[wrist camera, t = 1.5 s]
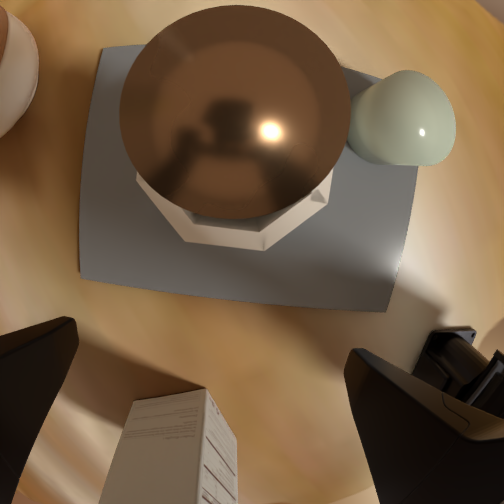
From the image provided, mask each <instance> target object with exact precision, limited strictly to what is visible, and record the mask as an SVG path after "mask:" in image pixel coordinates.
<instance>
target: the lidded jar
mask: <svg viewBox="0 0 504 504" xmlns="http://www.w3.org/2000/svg"><path fill="white" fill-rule="evenodd" d="M38 70H39V55H38V48H37V45H36V42H35V39H34V37H33V35H32V33H31V32H30V30H29V29H28V28H27V27H26V25H24V24H23V23H22V22H21V21H20V20H19V19H18V18H17V17H15V16H14V15H12V14H11V13H9V12H7V11H5V9H4V8H3V7H1V6H0V138H1V137H2V136H3V135H5V134H6V133H7V132H8V131H9V130H10V129H11V128H12V127H13V126H14V124H15V123H16V122H17V121H18V120H19V119H20V118H21V117H22V115H23V114H24V113H25V112H26V110H27V108H28V107H29V105H30V103H31V101H32V99H33V97H34V95H35V92H36V89H37V84H38V78H39V71H38Z"/></svg>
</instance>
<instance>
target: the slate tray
mask: <svg viewBox="0 0 504 504" xmlns="http://www.w3.org/2000/svg"><path fill="white" fill-rule="evenodd" d="M145 46H146V45H130V46H119V47H109V48H103V52H102V56H101V59H100V63H99V67H98V71H97V76H96V80H95V85H94V89H93V94H92V99H91V105H90V110H89V116H88V122H87V129H86V136H85V144H84V152H83V162H82V173H81V188H80V211H79V250H80V274H81V278H82V279H87V280H93V281H99V282H104V283H110V284H116V285H123V286H129V287H135V288H142V289H148V290H155V291H162V292H169V293H177V294H184V295H192V296H200V297H208V298H216V299H225V300H233V301H243V302H252V303H262V304H272V305H283V306H295V307H307V308H320V309H334V310H350V311H368V312H386V310H387V307H388V304H389V301H390V297H391V294H392V290H393V287H394V283H395V280H396V276H397V272H398V269H399V265H400V261H401V257H402V252H403V248H404V244H405V239H406V235H407V230H408V225H409V220H410V215H411V210H412V204H413V199H414V192H415V186H416V179H417V172H418V166H412V165H376V164H372V163H369V162H367V161H365V160H364V159H362V158H361V157H359V156H358V155H357V154H356V153H355V152H354V151H353V149H352V148H351V147H350V145H349V143H348V141H347V140H346V143H345V146H344V149H343V151H342V153H341V155H340V157H339V159H338V161H337V163H336V164H335V166H334V167H333V174H332V180H331V187H330V193H329V199H328V204H327V205H326V206H324V207H323V208H322V209H320V210H319V211H318V212H316V213H315V214H313V215H312V216H311V217H309V218H308V219H307V220H305V221H304V222H303V223H301V224H300V225H299V226H297V227H296V228H295V229H293V230H292V231H291V232H289V233H288V234H287V235H285V236H284V237H283V238H281V239H280V240H279V241H277V242H276V243H275V244H273V245H272V246H271V247H269V248H268V249H267V250H265V251H260V250H251V249H243V248H235V247H226V246H218V245H209V244H201V243H192V242H185V241H184V240H183V239H182V237H181V236H180V235H179V234H178V233H177V231H176V230H175V229H174V228H173V226H172V225H171V224H170V223H169V221H168V220H167V219H166V218H165V217H164V215H163V214H162V213H161V212H160V210H159V209H158V208H157V207H156V205H155V204H154V203H153V201H152V200H151V199H150V198H149V196H148V195H147V194H146V193H145V191H144V190H143V189H142V188H141V186H140V185H139V184H138V182H137V181H136V177H137V170H136V169H135V167H134V166H133V164H132V162H131V160H130V158H129V156H128V154H127V152H126V149H125V146H124V143H123V140H122V136H121V130H120V124H119V107H120V98H121V93H122V89H123V86H124V82H125V79H126V77H127V75H128V72H129V70H130V68H131V66H132V64H133V63H134V61H135V59H136V58H137V56H138V55H139V54H140V52H141V51H142V50H143V48H144V47H145ZM341 68H342V71H343V73H344V76H345V78H346V81H347V85H348V89H349V93H350V100H351V99H352V98H353V97H354V96H355V95H357V94H358V93H360V92H362V91H364V90H365V89H367V88H369V87H371V86H372V85H374V84H376V83H378V82H379V81H381V80H382V79H380V78H377V77H374V76H371V75H368V74H364V73H361V72H358V71H355V70H351V69H348V68H344V67H341Z"/></svg>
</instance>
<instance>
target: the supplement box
mask: <svg viewBox="0 0 504 504" xmlns="http://www.w3.org/2000/svg"><path fill="white" fill-rule="evenodd" d="M99 504H238V488H237V440H236V437H235V436H234V434H233V432H232V431H231V429H230V428H229V426H228V424H227V423H226V421H225V419H224V417H223V416H222V414H221V412H220V411H219V409H218V407H217V406H216V404H215V402H214V400H213V399H212V397H211V395H210V393H209V392H208V390H207V389H206V388H205V389H200V390H195V391H191V392H186V393H180V394H175V395H169V396H163V397H157V398H151V399H144V400H136V401H133V404H132V407H131V410H130V412H129V415H128V418H127V420H126V423H125V426H124V429H123V431H122V434H121V437H120V440H119V443H118V445H117V448H116V451H115V454H114V457H113V460H112V463H111V466H110V469H109V472H108V475H107V478H106V481H105V485H104V488H103V491H102V494H101V497H100V500H99Z"/></svg>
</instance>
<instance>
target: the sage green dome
mask: <svg viewBox="0 0 504 504" xmlns="http://www.w3.org/2000/svg"><path fill="white" fill-rule="evenodd" d="M350 102H351V122H350V127H349V133H348V137H347V141H348V143H349V145H350V147H351V148H352V149H353V151H354V152H355V153H356V154H357V155H358V156H359V157H361V158H362V159H364V160H365V161H367V162H369V163H372V164H376V165H412V166H431V165H435V164H437V163H439V162H441V161H442V160H444V159H445V158H446V157H447V156H448V154H449V153H450V151H451V149H452V147H453V144H454V141H455V135H456V122H455V116H454V112H453V109H452V106H451V104H450V102H449V100H448V98H447V96H446V95H445V93H444V92H443V90H442V89H441V88H440V87H439V86H438V85H437V84H436V83H435V82H434V81H433V80H432V79H430V78H429V77H428V76H426V75H424V74H422V73H419V72H416V71H411V70H403V71H399V72H396V73H394V74H392V75H390V76H388V77H387V78H385V79H383V80H381V81H379V82H378V83H376V84H374V85H372V86H371V87H369V88H367V89H365V90H364V91H362V92H360V93H358V94H357V95H355V96H354V97H353V98H352V99H351V100H350Z"/></svg>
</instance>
